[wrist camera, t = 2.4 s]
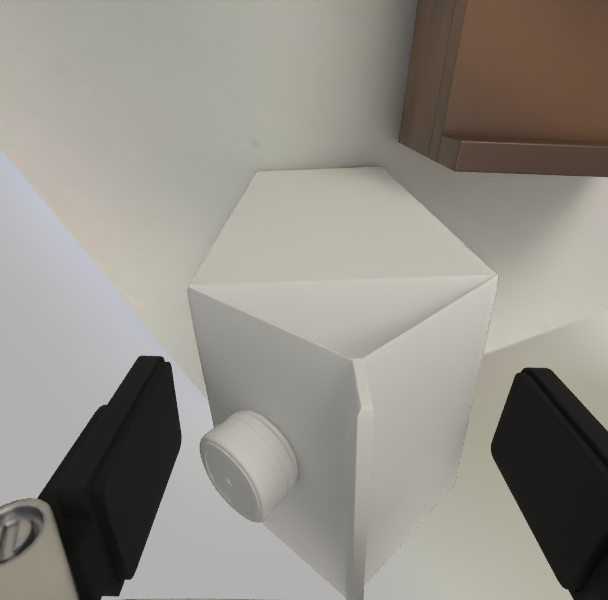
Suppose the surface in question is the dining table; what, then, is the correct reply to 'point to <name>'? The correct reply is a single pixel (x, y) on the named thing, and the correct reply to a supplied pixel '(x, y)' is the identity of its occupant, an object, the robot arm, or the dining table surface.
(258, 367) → the milk carton
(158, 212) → the dining table surface
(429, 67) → the brown wooden box
